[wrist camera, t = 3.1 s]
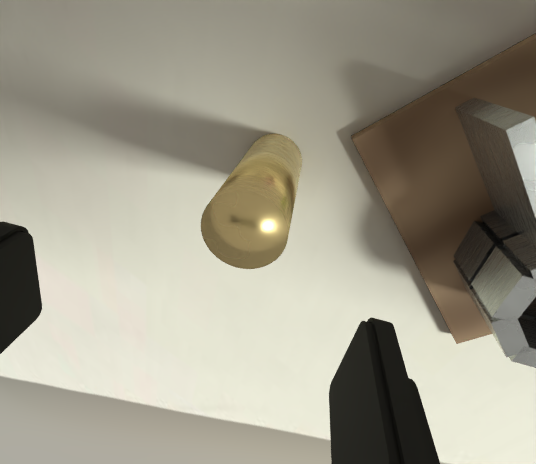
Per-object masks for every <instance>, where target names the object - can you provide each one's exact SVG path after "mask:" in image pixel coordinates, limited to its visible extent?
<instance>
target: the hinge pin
mask: <svg viewBox="0 0 536 464" xmlns="http://www.w3.org/2000/svg"><path fill="white" fill-rule="evenodd" d="M301 166H302V157H301V153H300V151H299V149H298V147H297V145H296V144H295V143H294V142H293V141H292V140H291V139H289V138H288V137H286V136H283V135H279V134H269V135H265V136H263V137H261V138H259V139H258V140H257V141H255V142H254V144H253V145H252V146H251V148H250V149H249V150H248V152H247V153H246V154H245V156H244V157H243V158H242V160H241V161H240V162H239V164H238V165H237V166H236V168H235V169H234V170H233V172H232V173H231V174H230V176H229V177H228V179H227V180H226V181H225V183H224V184H223V185H222V187H221V188H220V189H219V191H218V192H217V193H216V195H215V196H214V197H213V199H212V200H211V201H210V203H209V204H208V205H207V207H206V209H205V210H204V213H203V215H202V219H201V232H202V236H203V239H204V241H205V243H206V245H207V247H208V248H209V250H210V251H211V252H212V253H213V254H214V255H215V256H216V257H217V258H219V259H220V260H221V261H223V262H225V263H227V264H229V265H231V266H234V267H238V268H243V269H255V268H260V267H264V266H266V265H268V264H270V263H272V262H273V261H275V260H276V259H277V258H278V257H279V256H280V255H281V254H282V252H283V250H284V249H285V246H286V244H287V239H288V234H289V229H290V223H291V218H292V213H293V208H294V202H295V197H296V192H297V187H298V181H299V176H300V171H301Z"/></svg>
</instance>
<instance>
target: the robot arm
mask: <svg viewBox="0 0 536 464" xmlns="http://www.w3.org/2000/svg"><path fill="white" fill-rule="evenodd" d="M41 310H42V302H41V295H40V288H39V280H38V273H37V266H36V258H35V251H34V244H33V238H32V236H31V235H30V234H29V233H28V230H27V229H26V228H24V227H22V226H18V225H14V224H10V223H7V222H0V354H1V353H2V352H3V351H4V350H5V349H6V348H7V347H8V346H9V345H10V344H11V343H12V342H13V341H14V340H15V339H16V338H17V337H18V336H19V335H21V334H22V333H23V332H24V331H25V330H26V329H27V328H28V327H29V326H30V325H31V324H32V323H33V322H34V321H35V320H36V319H37V318H38V316H39V315H40V313H41ZM329 405H330V432H331V458H332V464H440V462H439V459H438V455H437V452H436V449H435V445H434V442H433V439H432V435H431V432H430V429H429V425H428V422H427V419H426V415H425V412H424V408H423V405H422V402H421V398H420V395H419V392H418V389H417V386H416V384H415V382H414V381H413V380H412V379H409V378H408V375H407V372H406V368H405V365H404V361H403V358H402V354H401V350H400V347H399V343H398V340H397V336H396V333H395V329H394V326H393V324H392V323H390V322H386V321H383V320H379V319H375V318H370V319H368V321H367V322H365V321H362V322H361V323H360V325H359V327H358V329H357V331H356V333H355V335H354V337H353V339H352V341H351V343H350V345H349V347H348V349H347V351H346V353H345V355H344V358H343V360H342V362H341V364H340V366H339V368H338V370H337V372H336V374H335V376H334V378H333V380H332V382H331V385H330V391H329Z"/></svg>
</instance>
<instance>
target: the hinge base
mask: <svg viewBox="0 0 536 464" xmlns="http://www.w3.org/2000/svg"><path fill="white" fill-rule="evenodd" d="M472 98H477V99H480V100H483V101H487V102H490V103H493V104H496V105H499V106H502V107H505V108H509V109H512V110H515V111H518V112H521V113H524V114H527V115H531V116H534V117H535V121H536V34H534V35H532V36H530V37H528V38H527V39H525V40H523V41H521V42H519V43H518V44H516V45H514V46H512V47H510V48H509V49H507V50H505V51H503V52H501V53H500V54H498V55H496V56H494V57H492V58H491V59H489V60H487V61H485V62H483V63H482V64H480V65H478V66H476V67H474V68H473V69H471V70H469V71H467V72H465V73H464V74H462V75H460V76H458V77H456V78H455V79H453V80H451V81H449V82H447V83H446V84H444V85H442V86H440V87H438V88H437V89H435V90H433V91H431V92H429V93H428V94H426V95H424V96H422V97H420V98H419V99H417V100H415V101H413V102H411V103H410V104H408V105H406V106H404V107H402V108H401V109H399V110H397V111H395V112H393V113H392V114H390V115H388V116H386V117H384V118H383V119H381V120H379V121H377V122H375V123H374V124H372V125H370V126H368V127H367V128H365V129H363V130H361V131H359V132H358V133H356V134H354V135H352V136H351V137H352V140H353V142H354V144H355V146H356V148H357V150H358V152H359V154H360V156H361V158H362V160H363V162H364V164H365V166H366V168H367V170H368V171H369V173H370V175H371V177H372V179H373V181H374V183H375V185H376V187H377V189H378V191H379V193H380V195H381V197H382V199H383V201H384V203H385V205H386V207H387V209H388V211H389V212H390V214H391V216H392V218H393V220H394V222H395V224H396V226H397V228H398V230H399V232H400V234H401V236H402V238H403V240H404V242H405V244H406V246H407V248H408V250H409V252H410V254H411V255H412V257H413V259H414V261H415V263H416V265H417V267H418V269H419V271H420V273H421V275H422V277H423V279H424V281H425V283H426V285H427V287H428V289H429V291H430V293H431V295H432V297H433V298H434V300H435V302H436V304H437V306H438V308H439V310H440V312H441V314H442V316H443V318H444V320H445V322H446V324H447V326H448V328H449V330H450V332H451V334H452V336H453V338H454V340H455V341H456V343H457V344H458V343H461V342H465V341H468V340H472V339H475V338H479V337H482V336H486V335H489V334H492V332H491V331H490V329H489V327H488V325H487V324H486V322H485V320H484V318H483V317H482V315H481V314H480V312H479V310H478V309H477V307H476V305H475V304H474V302H473V300H472V299H471V297H470V295H469V293H468V292H467V290H466V288H465V286H464V284H463V282H462V279H461V277H460V275H459V273H458V271H457V269H456V266H455V264H454V262H453V261H454V260H456V259H455V257H454V256H453V255H454V254H455V252H456V250H457V249H458V247H459V245H460V244H461V242H462V240H463V239H464V237H465V235H466V234H467V232H468V230H469V229H470V227H471V225H472V223H473V222H474V221H477V222H480V223H482V221H481V218H480V216H481V215H484V214H486V213H489V212H491V211H494V208H493V206H492V203H491V200H490V198H489V195H488V192H487V190H486V187H485V185H484V182H483V179H482V177H481V174H480V172H479V169H478V166H477V164H476V161H475V159H474V156H473V153H472V151H471V148H470V146H469V143H468V140H467V138H466V135H465V132H464V130H463V127H462V125H461V122H460V119H459V117H458V114H457V112H456V109H455V107H457V106H459V105H461V104H463V103H465V102H467V101H469V100H470V99H472Z"/></svg>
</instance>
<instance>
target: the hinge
mask: <svg viewBox="0 0 536 464" xmlns="http://www.w3.org/2000/svg"><path fill="white" fill-rule="evenodd" d="M455 109H456V112H457V114H458V117H459V119H460V122H461V125H462V127H463V130H464V132H465V135H466V138H467V140H468V143H469V146H470V148H471V151H472V153H473V156H474V159H475V161H476V164H477V166H478V169H479V172H480V174H481V177H482V179H483V182H484V185H485V187H486V190H487V192H488V195H489V198H490V200H491V203H492V206H493V208H494V211H491V212H489V213H486V214H484V215H481V216H480V218H481V221H482V223H480V222H477V221H474V222H473V223H472V225H471V227H470V229H469V230H468V232H467V234H466V235H465V237H464V239H463V240H462V242H461V244H460V245H459V247H458V249H457V250H456V252H455V254H454V255H453V256H454V257H455V259H456V260H454V261H453V262H454V264H455V266H456V269H457V271H458V273H459V275H460V277H461V279H462V282H463V284H464V286H465V288H466V290H467V292H468V293H469V295H470V297H471V299H472V300H473V302H474V304H475V305H476V307H477V309H478V310H479V312H480V314H481V315H482V317H483V318H484V320H485V322H486V324H487V325H488V327H489V329H490V331H491V332H492V334H493V336H494V337H495V339H496V341H497V342H498V344H499V346H500V347H501V349H502V351H503V352H504V354H505V356H506V357H509V358H510V359H511V361H513V362H517V363H521V364H524V365H528V366H532V367H535V368H536V121H535V117H534V116H531V115H527V114H524V113H521V112H518V111H515V110H512V109H509V108H505V107H502V106H499V105H496V104H493V103H490V102H487V101H483V100H480V99H477V98H472V99H470V100H469V101H467V102H465V103H463V104H461V105H459V106H457V107H455Z"/></svg>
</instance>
